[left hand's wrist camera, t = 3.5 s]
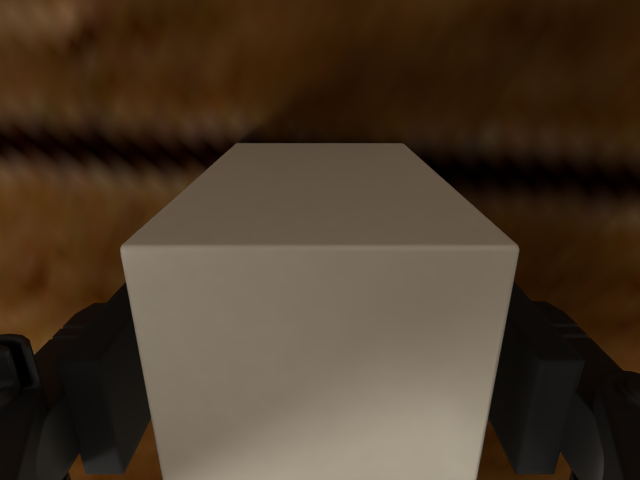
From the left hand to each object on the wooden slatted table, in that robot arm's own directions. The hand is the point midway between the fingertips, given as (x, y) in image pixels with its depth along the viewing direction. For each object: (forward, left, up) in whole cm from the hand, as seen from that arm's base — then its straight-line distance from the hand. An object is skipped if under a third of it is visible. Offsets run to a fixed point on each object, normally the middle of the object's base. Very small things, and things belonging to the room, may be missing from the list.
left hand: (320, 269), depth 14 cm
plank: (0, +9, 0) cm, 9 cm away
